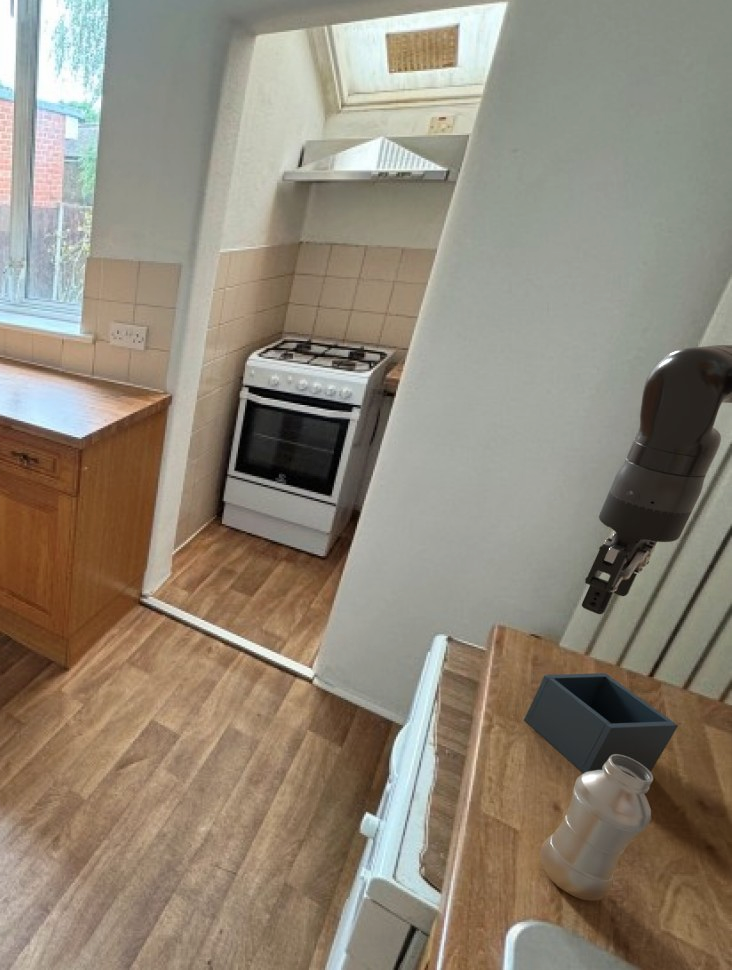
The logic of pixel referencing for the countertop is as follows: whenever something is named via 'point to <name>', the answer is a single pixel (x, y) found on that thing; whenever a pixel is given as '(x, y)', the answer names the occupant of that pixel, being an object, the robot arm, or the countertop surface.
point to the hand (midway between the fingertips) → (604, 601)
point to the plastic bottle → (598, 827)
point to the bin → (597, 721)
